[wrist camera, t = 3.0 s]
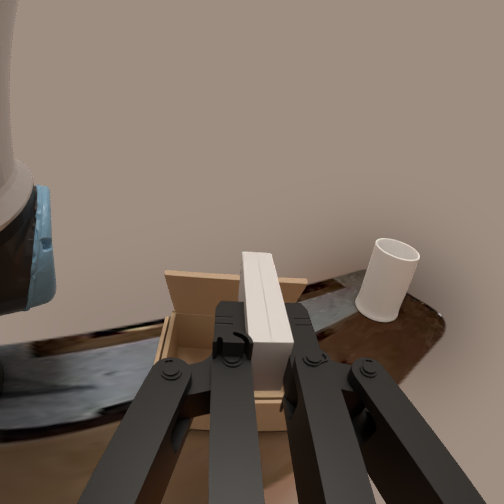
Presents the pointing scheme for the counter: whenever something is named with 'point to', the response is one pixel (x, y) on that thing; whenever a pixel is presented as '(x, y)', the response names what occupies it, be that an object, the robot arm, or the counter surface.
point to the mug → (386, 280)
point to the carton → (200, 348)
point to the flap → (216, 290)
